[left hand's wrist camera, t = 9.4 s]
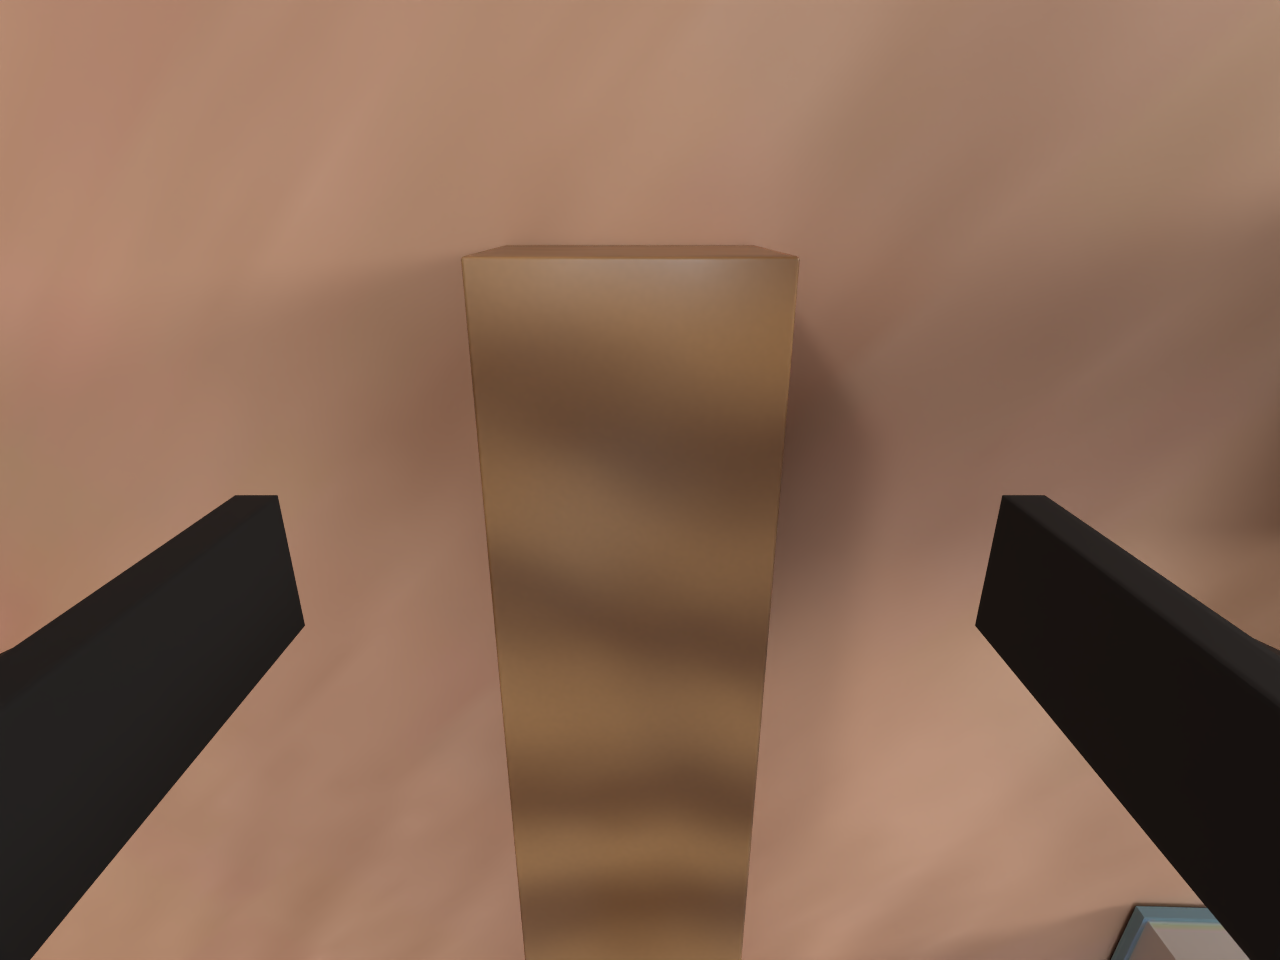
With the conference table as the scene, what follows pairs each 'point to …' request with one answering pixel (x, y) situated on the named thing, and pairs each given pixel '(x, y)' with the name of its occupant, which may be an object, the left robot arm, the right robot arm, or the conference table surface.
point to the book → (1176, 936)
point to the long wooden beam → (631, 577)
